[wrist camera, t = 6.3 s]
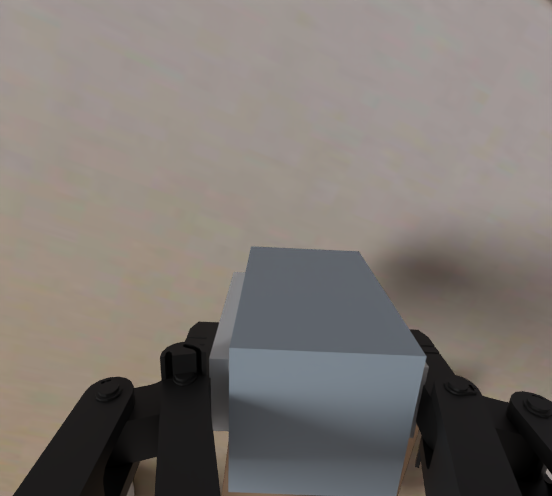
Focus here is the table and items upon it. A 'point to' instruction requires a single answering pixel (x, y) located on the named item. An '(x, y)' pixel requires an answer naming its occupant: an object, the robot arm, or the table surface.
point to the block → (319, 378)
